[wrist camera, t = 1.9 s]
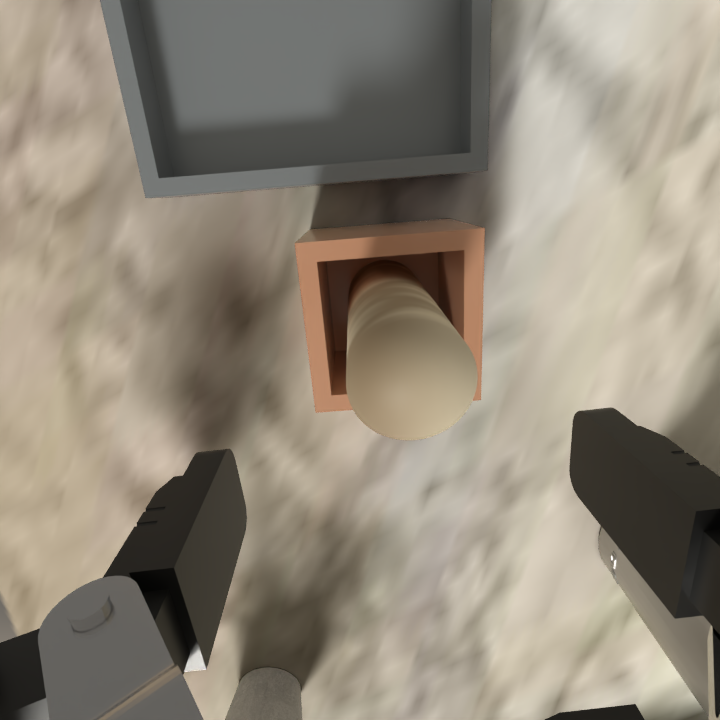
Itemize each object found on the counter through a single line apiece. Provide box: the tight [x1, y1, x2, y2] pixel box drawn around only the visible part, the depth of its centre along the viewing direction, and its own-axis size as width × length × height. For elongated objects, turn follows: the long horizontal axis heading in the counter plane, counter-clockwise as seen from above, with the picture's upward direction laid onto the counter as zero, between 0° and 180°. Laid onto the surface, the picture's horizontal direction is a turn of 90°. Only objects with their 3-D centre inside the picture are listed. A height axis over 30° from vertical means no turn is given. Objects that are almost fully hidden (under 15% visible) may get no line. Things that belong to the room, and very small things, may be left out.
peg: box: [346, 260, 478, 440], centre depth 19 cm, size 4×4×12 cm
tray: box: [100, 0, 491, 198], centre depth 20 cm, size 16×12×3 cm
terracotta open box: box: [295, 218, 485, 413], centre depth 22 cm, size 8×8×7 cm
